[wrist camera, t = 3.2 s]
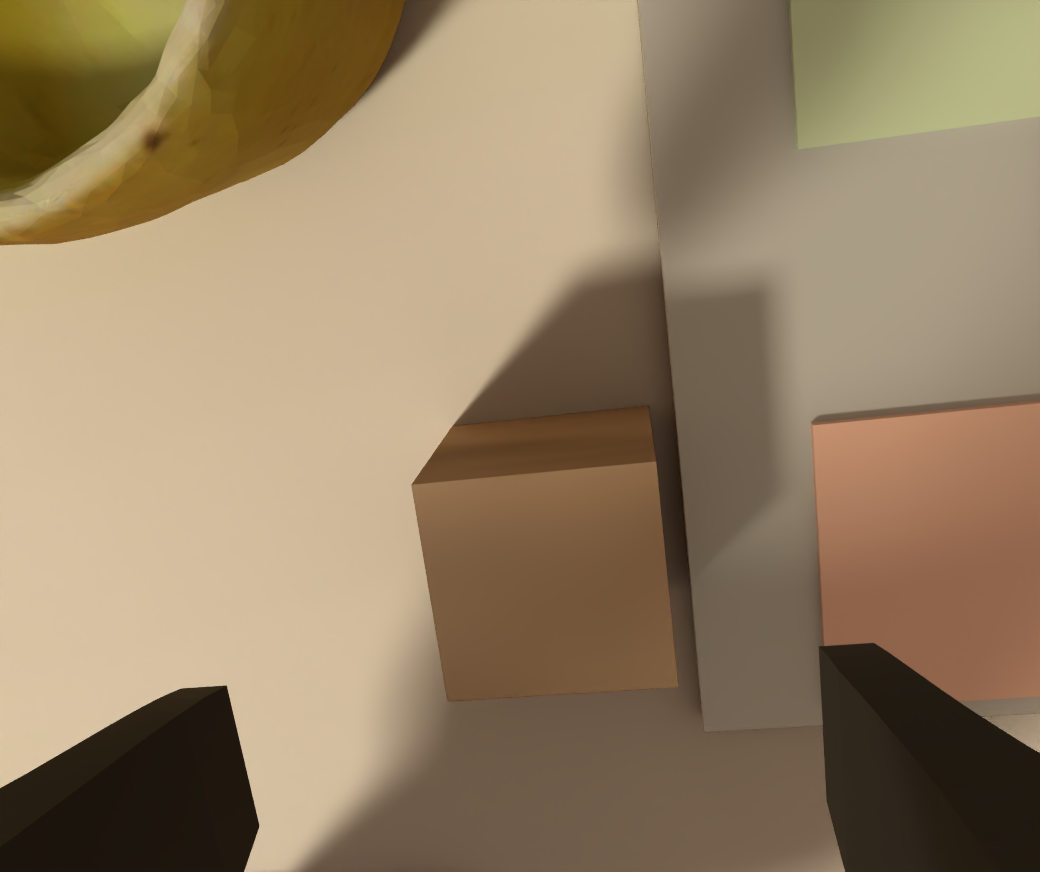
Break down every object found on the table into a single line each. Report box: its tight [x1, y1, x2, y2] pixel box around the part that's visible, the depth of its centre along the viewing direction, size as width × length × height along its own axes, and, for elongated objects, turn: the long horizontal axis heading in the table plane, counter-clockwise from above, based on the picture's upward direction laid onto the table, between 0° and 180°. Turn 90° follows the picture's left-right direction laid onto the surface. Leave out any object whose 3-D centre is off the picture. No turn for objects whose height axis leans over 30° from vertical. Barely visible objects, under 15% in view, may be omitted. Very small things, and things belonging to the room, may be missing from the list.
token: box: [412, 406, 678, 701], centre depth 17 cm, size 4×4×4 cm
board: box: [637, 0, 1040, 732], centre depth 17 cm, size 18×11×1 cm, turn 7°
